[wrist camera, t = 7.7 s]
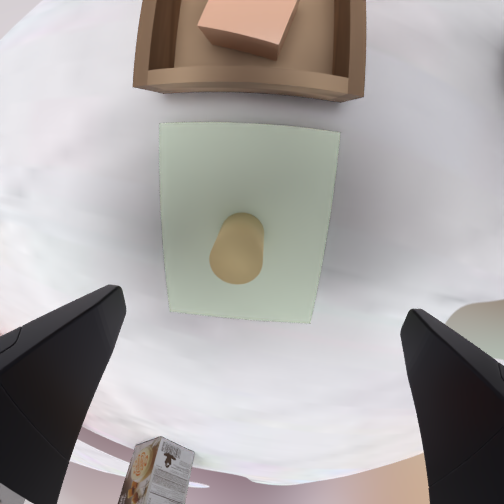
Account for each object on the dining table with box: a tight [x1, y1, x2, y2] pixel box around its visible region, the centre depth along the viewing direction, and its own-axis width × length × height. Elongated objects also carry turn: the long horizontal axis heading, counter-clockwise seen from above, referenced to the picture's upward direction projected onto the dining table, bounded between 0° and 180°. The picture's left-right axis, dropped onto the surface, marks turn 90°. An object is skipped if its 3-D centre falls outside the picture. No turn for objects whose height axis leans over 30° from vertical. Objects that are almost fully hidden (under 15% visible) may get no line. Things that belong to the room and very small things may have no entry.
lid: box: [159, 122, 340, 324], centre depth 17 cm, size 11×14×5 cm
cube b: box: [197, 0, 300, 61], centre depth 11 cm, size 4×4×4 cm
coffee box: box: [118, 437, 194, 504], centre depth 28 cm, size 9×6×16 cm
